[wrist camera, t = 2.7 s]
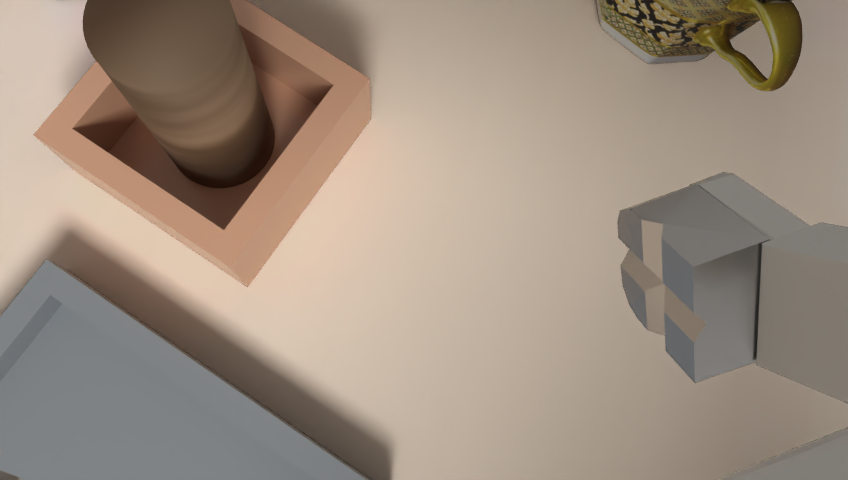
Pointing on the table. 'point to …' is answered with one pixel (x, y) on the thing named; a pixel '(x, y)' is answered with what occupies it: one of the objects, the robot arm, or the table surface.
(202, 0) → the canister
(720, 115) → the table surface
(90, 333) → the tray
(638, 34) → the ceramic cup
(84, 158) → the holder cup
